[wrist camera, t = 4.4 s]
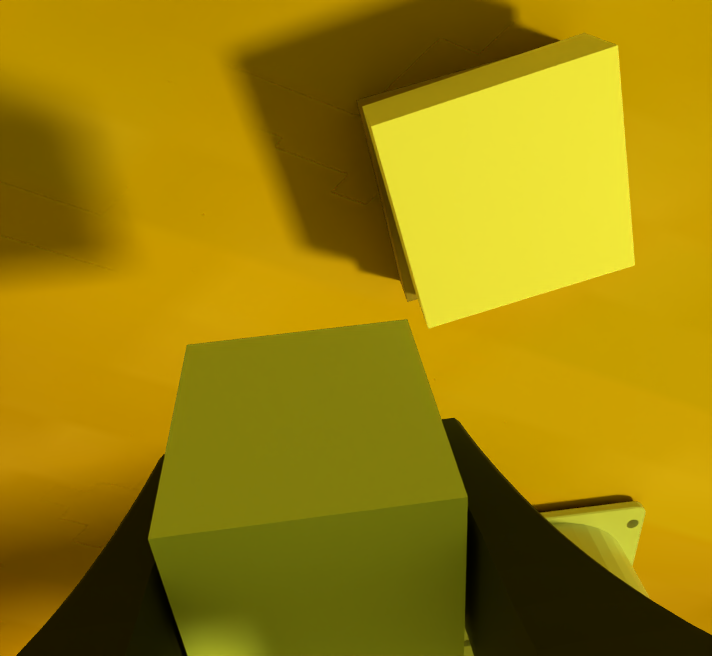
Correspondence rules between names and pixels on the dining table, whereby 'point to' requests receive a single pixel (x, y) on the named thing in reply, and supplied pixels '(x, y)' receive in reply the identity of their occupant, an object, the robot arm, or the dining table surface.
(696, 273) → the dining table surface
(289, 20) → the dining table surface
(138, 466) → the dining table surface
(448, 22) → the dining table surface
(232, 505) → the sage block
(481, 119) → the cream slab
